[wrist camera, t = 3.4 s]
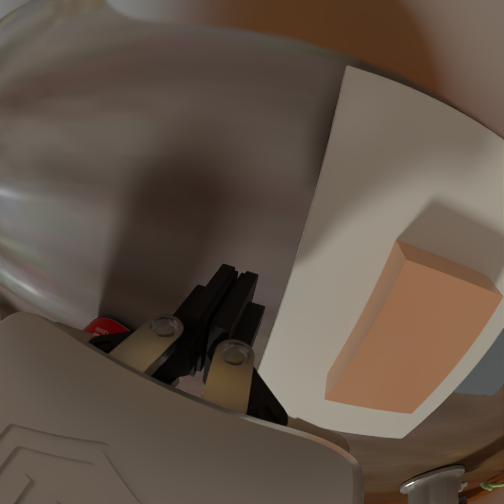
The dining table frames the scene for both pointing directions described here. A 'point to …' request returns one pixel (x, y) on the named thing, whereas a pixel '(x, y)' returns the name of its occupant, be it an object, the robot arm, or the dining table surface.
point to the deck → (384, 238)
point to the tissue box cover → (463, 500)
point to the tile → (411, 331)
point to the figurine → (490, 485)
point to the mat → (486, 372)
